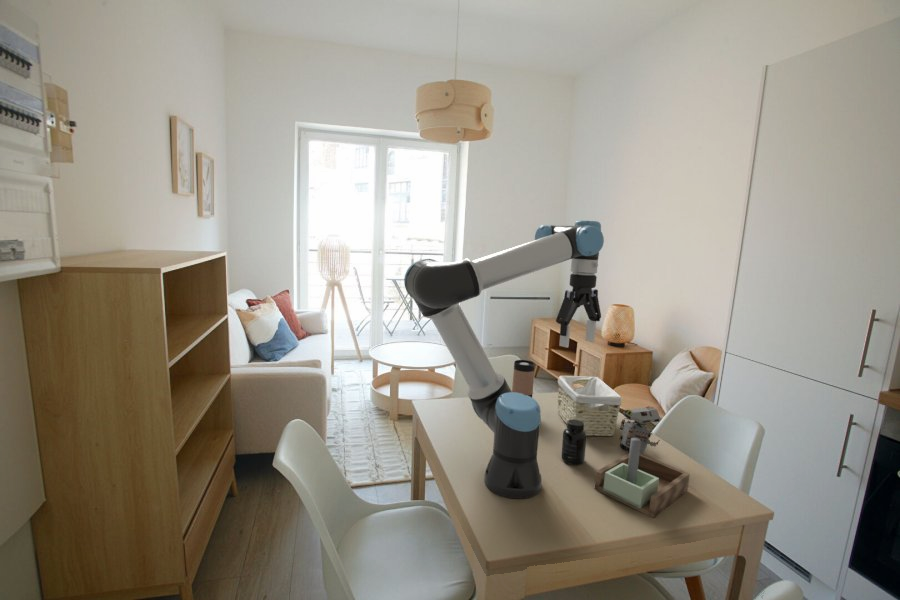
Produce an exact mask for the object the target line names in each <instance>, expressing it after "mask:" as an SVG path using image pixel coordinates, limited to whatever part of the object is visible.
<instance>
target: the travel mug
mask: <svg viewBox="0 0 900 600" xmlns="http://www.w3.org/2000/svg"><path fill="white" fill-rule="evenodd" d="M513 363H514V364H513V374H512V375H513V377H512V386H511V387H512V388H511V391H512V392H516V393H521V394H524V395H525V396H527V395H528V396H530V397H532V398H533V395H534V394H533V393H534V392H533V391H534V378H535V364H536V363H535V362H534V361H531V360H527V359H517V360H514V362H513Z"/></svg>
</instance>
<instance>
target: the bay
mask: <svg viewBox="0 0 900 600" xmlns="http://www.w3.org/2000/svg"><path fill="white" fill-rule="evenodd" d="M628 461H629V453H627V454H626V455H624V456H621V457H619V458H618V459H616V460H614V461H612V462H611V463H609V464H608V465H605V466H603V467H602V468H600V469H598V470H596V471H595V480H594V490H596V491H598V492H600V493H601V494H604V495H606V496H608V497H610V498H612V499H614V500H616V501H618V502H620V503H623V504H624V505H627V506H628V507H630V508H632V509H634V510H636V511H639V512H640V513H643V514H644V515H647V516H649V517H650V518H653V519H654V518H655V517H656V516H658V515H660V514H661V513H662V512H663V511H664V510H666V508H668V507H669V506H670V505H671V504H673V503H675V501H677V500H678V499H680V498H681V497H682V496H683V495H684V494H686V493H687V492H688V491H689V483H690V482H689V481H690V475H691V474H690V473H689V472H686V471H684V470H681V469H679V468H676V467H673V466H671V465H668V464H666V463H664V462H661V461H658V460H656V459H654V458H651V457H649V456H646V455H644V454H643V455H642V454H639V463H638V469H639V470H641V471H643V472H646V473H648V474H650V475H653V476H655V477H657V478H659V483H658V491H657V493H655V494H654V495H652V496H651V499H650V502H648V503H647V504H646V505H644V506H643V507H642V508H638V507H636V506H634V505H632V504H630V503H628V502H626V501H624V500H622V499H620V498H617V497H615V496H613V495H611V494H609V493H607V492H605V491H603V488H604V478H605V472H607V471H609V470H610V469H612V468H614V467H616V466H618V465H619V464H621V463H625V464H627V465H628Z"/></svg>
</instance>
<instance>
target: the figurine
mask: <svg viewBox="0 0 900 600" xmlns="http://www.w3.org/2000/svg"><path fill="white" fill-rule="evenodd" d="M623 417H624V419H621V423H620V426H619V430H621V434H620V436H619V441H620V445H619V447H620V448H621V449H623V450H624V449H625V450H626V449H629V450H630V443H631V438H638V439H640V440H641V445H640V454H642V455H644V453H645V451H646V449H647V446H648V445H649V446H651V447H657V446H658V445H659V441H660V439H658V441H657V442H655V441H650V438H651V436H652V433H653V431H652V430H650V429H649V428H648V427H647V424H650V423H659V422H660V421H661V415H660V414H659V412H658V409H656V408H654V407H653V406H646V407H640V408H631V409H626V410H624V411H623ZM626 420H628V421H626Z"/></svg>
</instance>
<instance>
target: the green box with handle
mask: <svg viewBox="0 0 900 600" xmlns="http://www.w3.org/2000/svg"><path fill="white" fill-rule="evenodd" d="M640 445H641V440H640V439H638V438H631V443H630V449H629V453H628V454H629V461H628V465H627V464H625V463H621V464H619V465H618V466H616V467H614V468H612V469H610V470H609V471H607V472H605V478H604V488H603V491H605V492H607V493H609V494H611V495H613V496H615V497H617V498H620V499H622V500H624V501H626V502H628V503H630V504H632V505H634V506H636V507H638V508H642V507H643V506H644V505H646V504H647V503H648V502H650V499H651V496H652V495H654V494H655V493H657V491H658V483H659V478H657V477H655V476H653V475H650V474H648V473H646V472H643V471H641V470H639V469H638V463H639V454H640Z"/></svg>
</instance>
